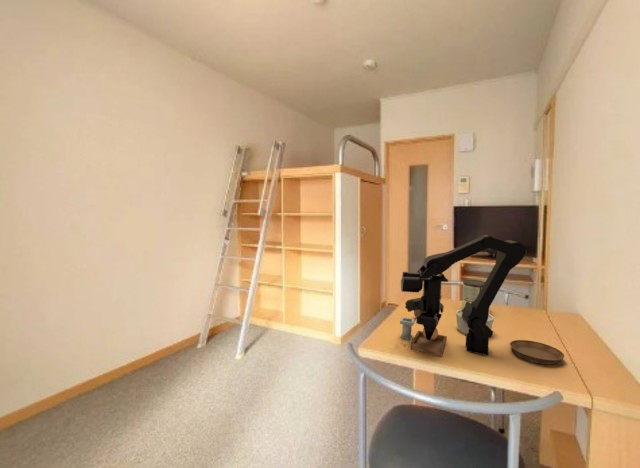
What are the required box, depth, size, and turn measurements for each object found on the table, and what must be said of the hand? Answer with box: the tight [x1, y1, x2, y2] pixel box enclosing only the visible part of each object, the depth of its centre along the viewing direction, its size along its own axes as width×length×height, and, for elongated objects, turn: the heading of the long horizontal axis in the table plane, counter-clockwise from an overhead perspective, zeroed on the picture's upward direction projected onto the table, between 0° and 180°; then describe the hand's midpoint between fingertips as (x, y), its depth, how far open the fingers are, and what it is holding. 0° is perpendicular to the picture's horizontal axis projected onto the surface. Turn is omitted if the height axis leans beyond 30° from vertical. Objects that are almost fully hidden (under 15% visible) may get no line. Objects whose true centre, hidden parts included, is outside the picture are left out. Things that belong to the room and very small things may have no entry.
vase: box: [413, 309, 424, 319], centre depth 135 cm, size 7×7×9 cm
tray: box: [409, 330, 448, 358], centre depth 110 cm, size 10×13×2 cm
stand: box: [399, 316, 416, 340], centre depth 116 cm, size 5×5×6 cm
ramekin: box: [455, 308, 495, 335], centre depth 123 cm, size 13×13×7 cm
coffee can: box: [461, 279, 486, 310], centre depth 146 cm, size 10×10×14 cm
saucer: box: [509, 339, 565, 365], centre depth 104 cm, size 15×15×3 cm
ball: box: [422, 327, 439, 340], centre depth 109 cm, size 5×5×5 cm
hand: (429, 337), depth 109 cm, fingers closed on ball, 5 cm apart
